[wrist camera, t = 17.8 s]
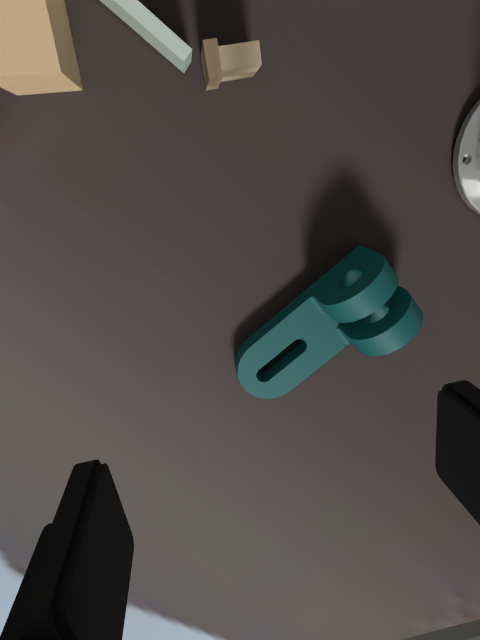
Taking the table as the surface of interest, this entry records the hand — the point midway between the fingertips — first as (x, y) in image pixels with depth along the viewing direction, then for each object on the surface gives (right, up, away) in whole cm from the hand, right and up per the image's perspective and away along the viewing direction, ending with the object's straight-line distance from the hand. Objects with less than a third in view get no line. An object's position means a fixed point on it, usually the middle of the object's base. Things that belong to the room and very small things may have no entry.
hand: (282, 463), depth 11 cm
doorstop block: (-16, +26, +19) cm, 36 cm away
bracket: (+6, +3, +31) cm, 31 cm away
